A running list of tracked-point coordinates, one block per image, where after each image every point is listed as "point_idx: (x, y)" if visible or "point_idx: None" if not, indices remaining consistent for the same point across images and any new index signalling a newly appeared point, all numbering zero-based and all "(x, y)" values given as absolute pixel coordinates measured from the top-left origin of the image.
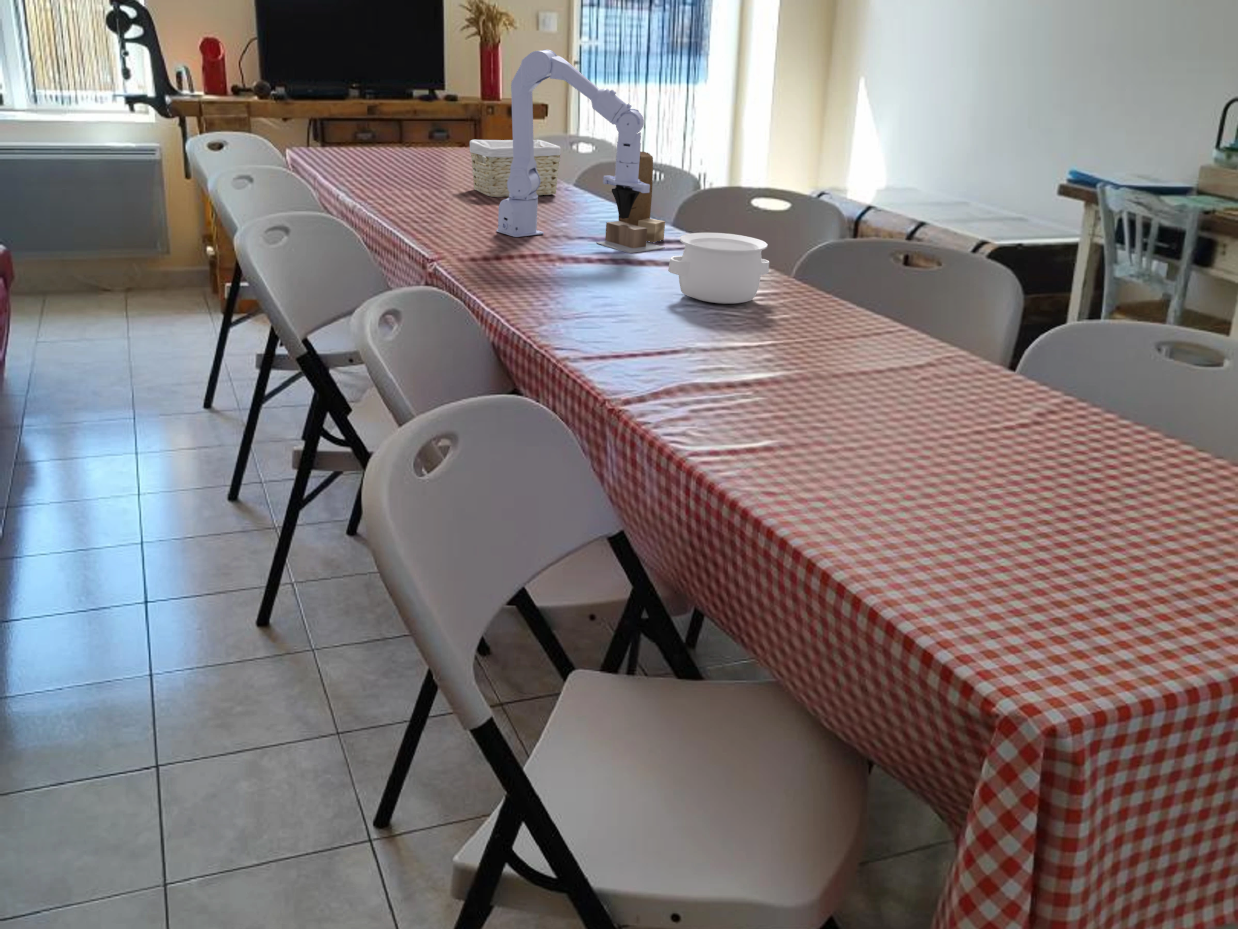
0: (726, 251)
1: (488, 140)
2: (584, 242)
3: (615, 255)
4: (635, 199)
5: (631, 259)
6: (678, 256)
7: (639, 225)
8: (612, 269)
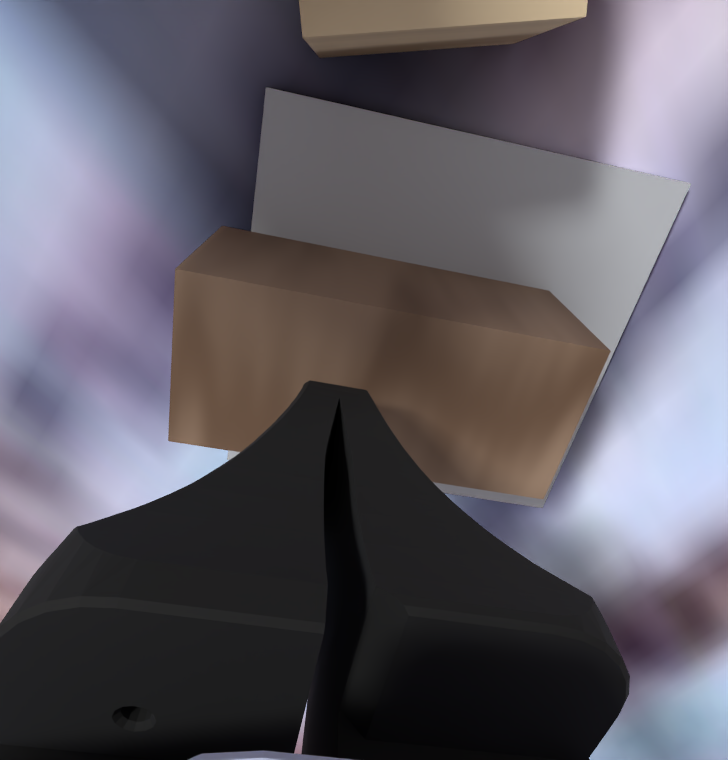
0: None
1: None
2: (161, 482)
3: None
4: (481, 530)
5: (615, 595)
6: None
7: (329, 43)
8: (623, 752)
